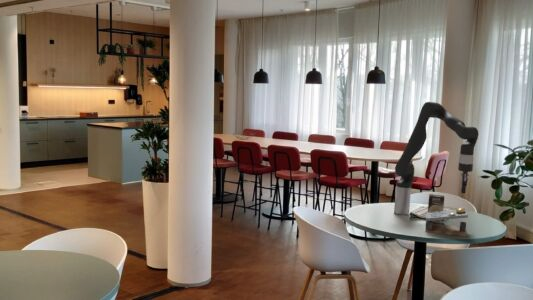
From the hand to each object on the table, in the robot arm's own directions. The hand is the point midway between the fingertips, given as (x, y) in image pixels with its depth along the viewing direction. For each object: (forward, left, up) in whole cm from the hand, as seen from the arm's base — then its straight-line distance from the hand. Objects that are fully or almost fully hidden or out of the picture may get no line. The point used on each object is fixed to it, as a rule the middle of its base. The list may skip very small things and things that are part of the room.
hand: (463, 193), depth 305 cm
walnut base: (-8, 0, -22) cm, 24 cm away
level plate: (-8, 0, -14) cm, 16 cm away
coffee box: (-14, +19, -23) cm, 33 cm away
